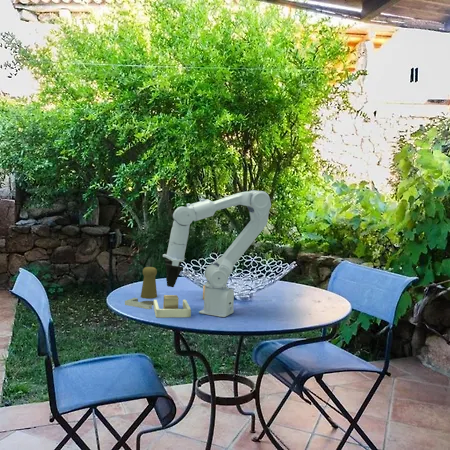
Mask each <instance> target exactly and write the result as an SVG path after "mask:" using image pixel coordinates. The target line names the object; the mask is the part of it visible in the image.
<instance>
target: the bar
mask: <svg viewBox="0 0 450 450" xmlns="http://www.w3.org/2000/svg"><path fill="white" fill-rule="evenodd" d="M124 306H128V307H132V308H134V307H135V308H140V309H143V310H144V309H146V310H152V309H153V305H152V304H148V303H142V301H139V298H138V297H132V298H129V299H126V300H124Z"/></svg>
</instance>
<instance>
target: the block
mask: <svg viewBox="0 0 450 450" xmlns="http://www.w3.org/2000/svg"><path fill="white" fill-rule="evenodd" d="M162 305H163V307H162V309H179V297H178V295H177V294H163V304H162Z"/></svg>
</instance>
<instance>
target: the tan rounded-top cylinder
mask: <svg viewBox="0 0 450 450" xmlns="http://www.w3.org/2000/svg"><path fill="white" fill-rule="evenodd" d="M204 295H205V284H203V286H202V300H203V301H204Z"/></svg>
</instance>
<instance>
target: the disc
mask: <svg viewBox="0 0 450 450" xmlns="http://www.w3.org/2000/svg"><path fill="white" fill-rule="evenodd" d="M141 302H142V303H148V304H152V306H153V304H154V300H153V301H152V300H142V301H141Z"/></svg>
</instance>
